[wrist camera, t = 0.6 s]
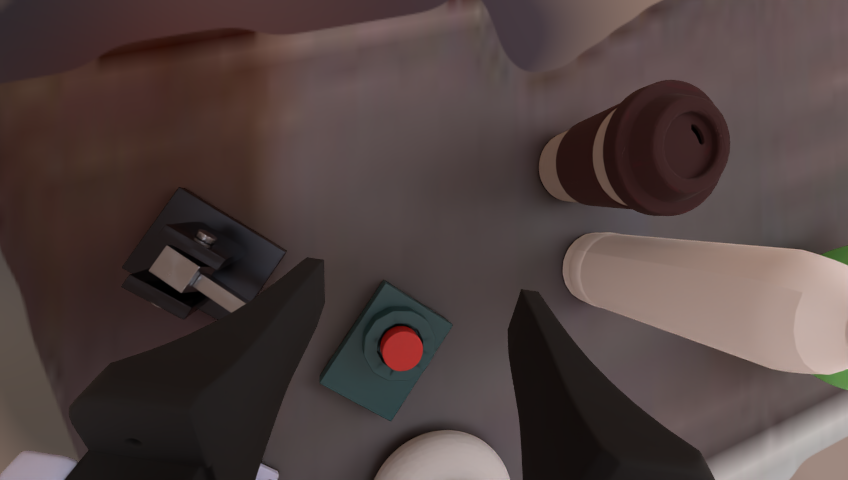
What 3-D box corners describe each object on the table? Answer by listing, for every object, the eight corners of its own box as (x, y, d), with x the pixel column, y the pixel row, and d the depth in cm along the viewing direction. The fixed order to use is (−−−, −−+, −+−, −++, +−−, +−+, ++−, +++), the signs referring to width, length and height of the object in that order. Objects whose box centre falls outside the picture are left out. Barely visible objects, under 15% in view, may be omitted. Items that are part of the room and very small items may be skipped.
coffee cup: (529, 219, 41) (636, 224, 27) (521, 123, 40) (628, 74, 26) (610, 208, 43) (750, 207, 29) (604, 117, 42) (747, 69, 28)
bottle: (606, 312, 44) (1135, 508, 15) (550, 288, 42) (1029, 459, 13) (632, 247, 44) (1205, 317, 15) (577, 220, 43) (1111, 242, 13)
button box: (388, 413, 39) (393, 432, 36) (319, 375, 37) (318, 392, 34) (448, 320, 40) (459, 330, 37) (383, 279, 38) (388, 286, 35)
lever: (321, 304, 29) (312, 308, 27) (275, 373, 29) (262, 382, 26) (201, 225, 30) (182, 221, 27) (154, 292, 29) (131, 294, 27)
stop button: (404, 370, 36) (408, 378, 34) (372, 351, 35) (374, 359, 34) (426, 337, 36) (430, 344, 35) (394, 318, 35) (397, 323, 34)
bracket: (287, 250, 36) (274, 262, 28) (236, 324, 35) (208, 358, 27) (184, 187, 34) (137, 180, 25) (128, 265, 33) (62, 283, 25)
